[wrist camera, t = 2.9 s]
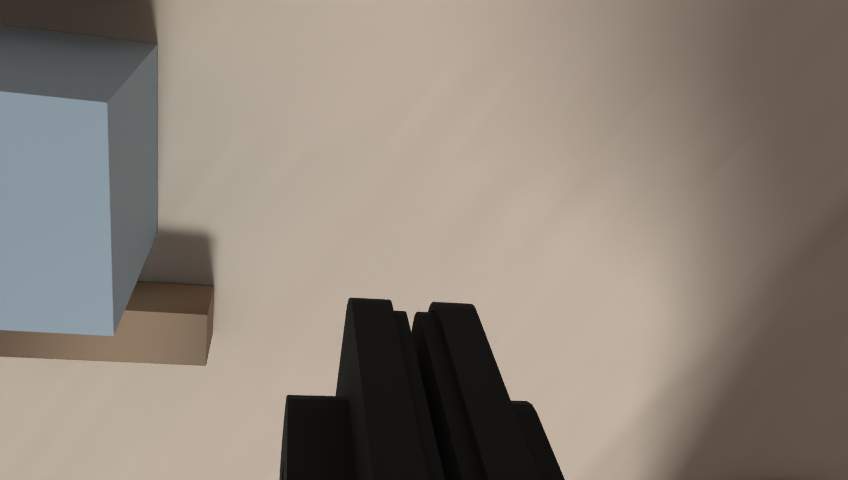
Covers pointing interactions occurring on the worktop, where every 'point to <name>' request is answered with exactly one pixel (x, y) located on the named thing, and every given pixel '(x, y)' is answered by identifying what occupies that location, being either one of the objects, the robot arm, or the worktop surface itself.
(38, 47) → the light blue cube
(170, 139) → the worktop surface
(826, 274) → the worktop surface
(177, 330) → the track
